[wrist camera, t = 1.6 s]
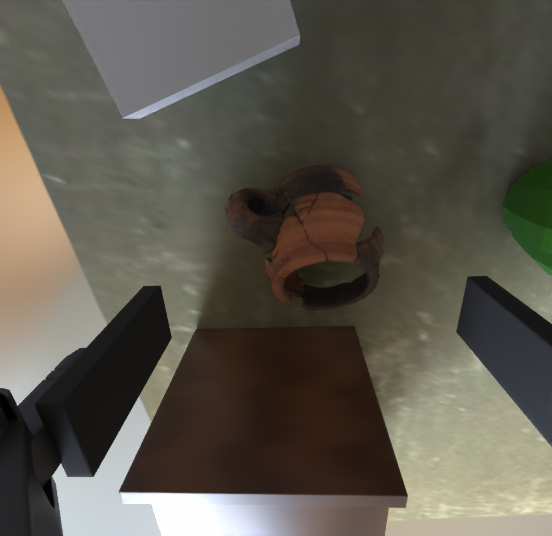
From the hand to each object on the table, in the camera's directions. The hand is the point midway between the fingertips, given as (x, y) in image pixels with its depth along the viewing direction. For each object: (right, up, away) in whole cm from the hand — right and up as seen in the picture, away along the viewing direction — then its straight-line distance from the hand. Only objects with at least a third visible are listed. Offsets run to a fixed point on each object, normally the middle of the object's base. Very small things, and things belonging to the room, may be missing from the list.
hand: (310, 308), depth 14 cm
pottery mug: (+1, +5, +12) cm, 13 cm away
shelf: (-1, -12, +20) cm, 23 cm away
